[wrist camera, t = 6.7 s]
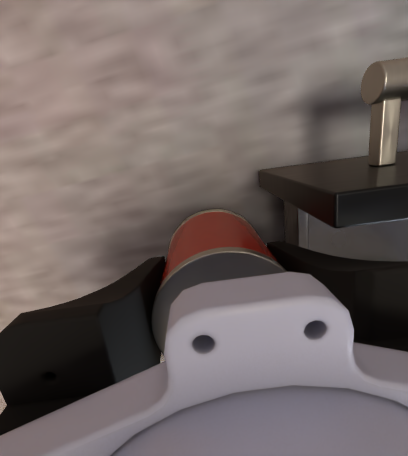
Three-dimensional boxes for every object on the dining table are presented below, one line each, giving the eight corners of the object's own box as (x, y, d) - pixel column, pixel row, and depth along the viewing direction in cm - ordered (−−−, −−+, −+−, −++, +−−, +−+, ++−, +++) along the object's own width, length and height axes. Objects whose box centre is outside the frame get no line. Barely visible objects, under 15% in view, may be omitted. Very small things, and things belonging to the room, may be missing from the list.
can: (257, 203, 14) (303, 241, 8) (263, 288, 15) (305, 373, 9) (161, 215, 14) (137, 262, 8) (176, 299, 15) (165, 391, 9)
